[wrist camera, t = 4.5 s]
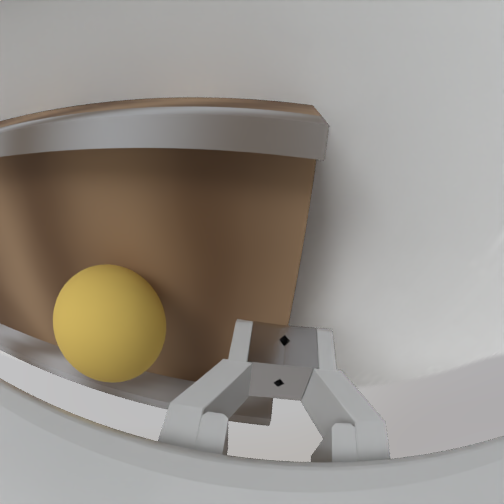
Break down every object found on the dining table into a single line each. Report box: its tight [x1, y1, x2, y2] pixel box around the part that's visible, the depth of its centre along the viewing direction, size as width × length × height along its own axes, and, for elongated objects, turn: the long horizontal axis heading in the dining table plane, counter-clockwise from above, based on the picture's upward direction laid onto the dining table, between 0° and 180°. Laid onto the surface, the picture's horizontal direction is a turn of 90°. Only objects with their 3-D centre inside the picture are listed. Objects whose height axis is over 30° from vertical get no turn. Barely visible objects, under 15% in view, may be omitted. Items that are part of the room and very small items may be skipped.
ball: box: [53, 264, 166, 383], centre depth 9 cm, size 4×4×4 cm
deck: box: [0, 98, 329, 426], centre depth 12 cm, size 28×13×4 cm, turn 86°
